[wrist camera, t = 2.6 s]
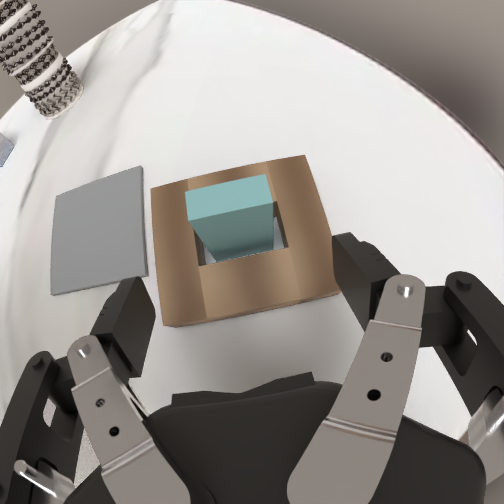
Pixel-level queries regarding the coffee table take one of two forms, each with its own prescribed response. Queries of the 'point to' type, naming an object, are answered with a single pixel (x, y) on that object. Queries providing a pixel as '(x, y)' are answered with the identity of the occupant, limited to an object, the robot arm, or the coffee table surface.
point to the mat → (99, 233)
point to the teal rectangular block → (233, 217)
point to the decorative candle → (36, 60)
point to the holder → (250, 267)
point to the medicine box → (4, 149)
